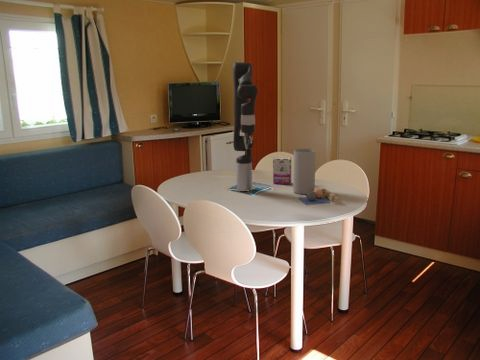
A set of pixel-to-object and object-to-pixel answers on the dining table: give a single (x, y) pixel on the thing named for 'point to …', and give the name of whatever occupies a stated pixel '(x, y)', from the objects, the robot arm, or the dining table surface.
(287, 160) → the candy bar box
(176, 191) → the dining table surface
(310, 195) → the grey ball
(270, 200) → the dining table surface
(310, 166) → the cylinder vase
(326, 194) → the stopper
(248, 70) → the robot arm
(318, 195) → the object ball
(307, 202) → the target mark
